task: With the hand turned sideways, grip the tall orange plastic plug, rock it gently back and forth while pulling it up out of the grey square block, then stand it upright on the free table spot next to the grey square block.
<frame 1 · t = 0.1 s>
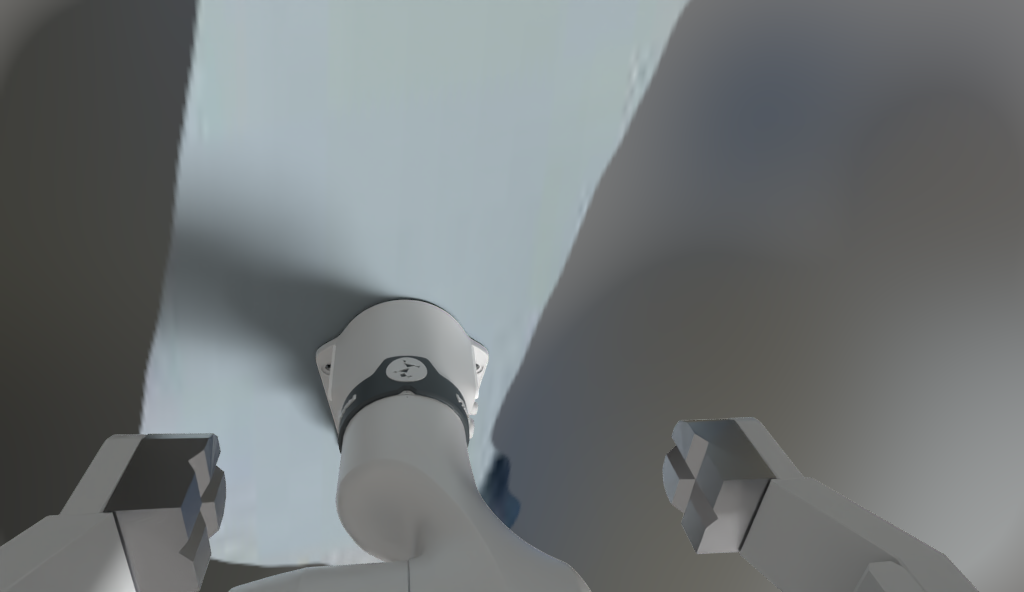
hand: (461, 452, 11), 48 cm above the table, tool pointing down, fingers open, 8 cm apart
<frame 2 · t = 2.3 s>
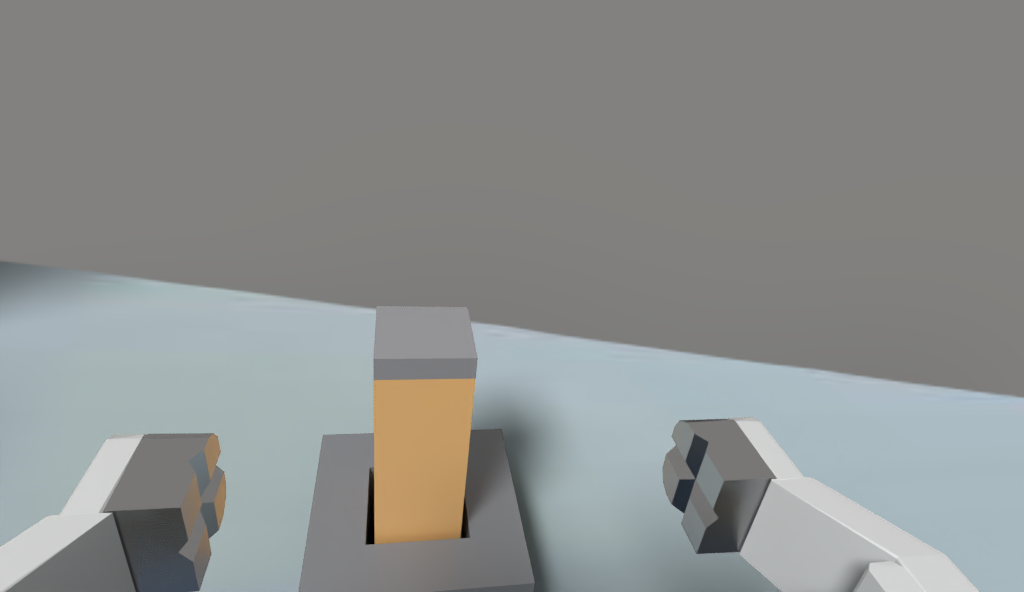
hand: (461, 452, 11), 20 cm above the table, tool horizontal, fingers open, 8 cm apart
plug: (419, 456, 28), in the grey square block
grey square block: (414, 554, 32), on the table
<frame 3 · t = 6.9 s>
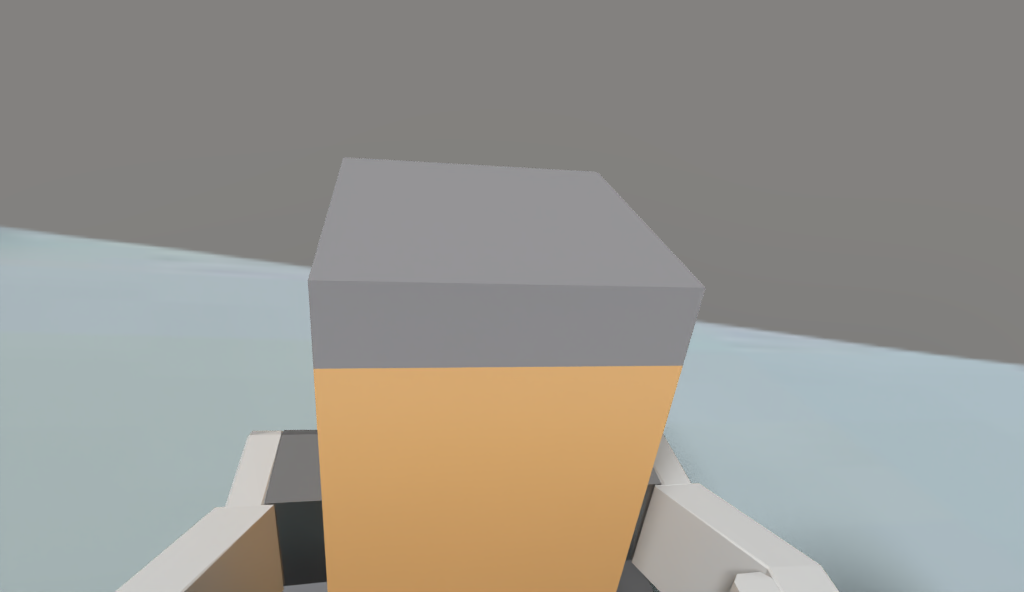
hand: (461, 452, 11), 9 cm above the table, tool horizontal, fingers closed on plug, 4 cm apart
plug: (458, 571, 11), in the grey square block, touching gripper
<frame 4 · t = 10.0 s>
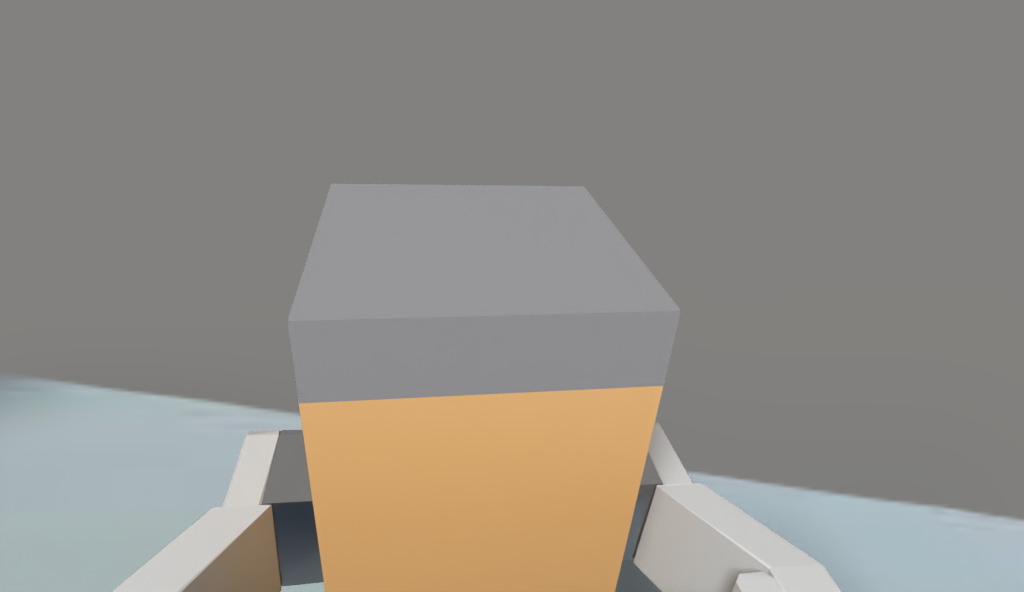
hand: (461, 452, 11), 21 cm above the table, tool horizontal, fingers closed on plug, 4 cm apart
plug: (462, 581, 11), point 18 cm above the table, touching gripper
when the fingers open (10 cm above the table, at t = 13.2 s): plug drops 1 cm, on the table.
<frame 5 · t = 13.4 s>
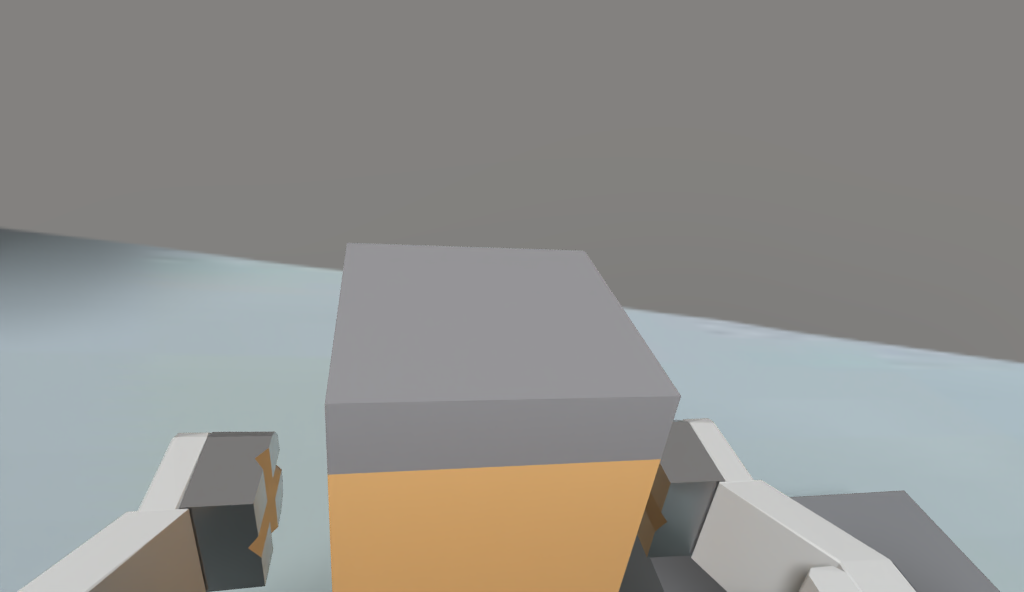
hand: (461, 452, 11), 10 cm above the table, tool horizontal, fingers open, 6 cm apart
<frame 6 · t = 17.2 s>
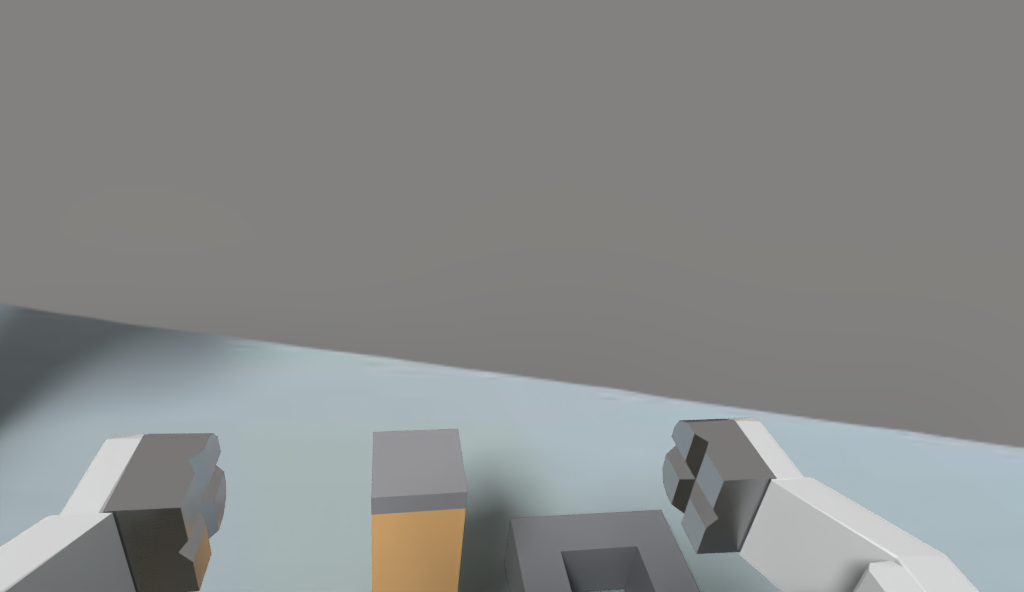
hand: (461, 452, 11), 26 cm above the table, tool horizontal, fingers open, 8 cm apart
plug: (413, 563, 30), on the table
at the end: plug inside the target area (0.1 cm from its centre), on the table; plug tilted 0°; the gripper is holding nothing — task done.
